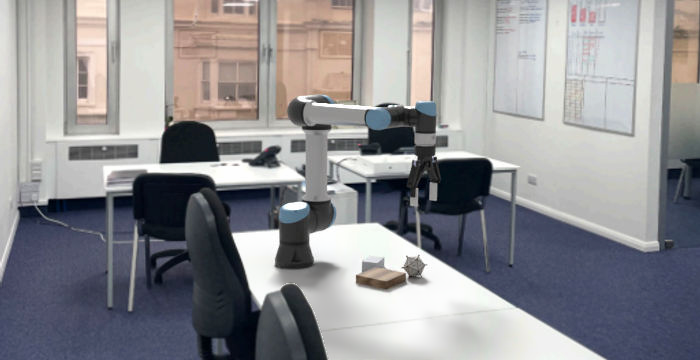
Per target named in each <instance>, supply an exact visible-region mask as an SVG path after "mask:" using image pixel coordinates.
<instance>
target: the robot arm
mask: <svg viewBox="0 0 700 360" xmlns="http://www.w3.org/2000/svg"><path fill="white" fill-rule="evenodd" d="M437 112H438V111H437V103H436V102H435V101H431V100H418V101H416V102H415V105H413V106H409V105H401V104H391V105H388V106H387V107H385V106H384V107H383V106H382V107H381V106H380V107H378V106H362V105H350V104H349V105H348V104H347V105H346V104H345V105H344V104H336V103H335V101H334V100H333V99H332V97H330V96H328V95H325V94H310V95H299V96H296V97H295V98H293V99H291V101H290V102H289V103H288V106H287V109H286V114H287V117H288V119H289V121H290V122H291V123H292V124H293V125H295V126H298V127H301V131H303V132H304V134H305V193H304V195H302V197H301V201H295V202H288V203H285V204H283V205H282V206H281V207H280V208H279V213H278V215H279V216H278V227H279V229H278V230H279V231H278V234H279V237H278V239H279V244H278V248H277V250H276V251H277V252H276V255H275V258H274V265H275V266H276V267H278V268H281V269H287V270H288V269H290V270H298V269H299V270H300V269H305V268H306V269H307V268H311V267H312V266H314V264H315V257H314V255H313V253H312V248H311V244H310V234H313V233H317V232H322V231H325V230H327V229H329V228H331V227H332V226H333V225H334V224H335V222H336V218H337V209H336V208H337V207H336V206H334V205H335V204H334V203H333V202H332V197H331V196H330V194H328V135H329V133H330V132H331V131H332V126H340V127H341V126H343V127H354V128H365V129H366V128H367V129H371V130H374V131H382V130H386V129H395V128H401V127H405V128H406V127H407V128H408V127H409V128H414V144H415V145H414V156H416V157H417V159H412V161H411V167H410V171H409V174H408V178H407V182H406V187H407V188H409V189H410V190H409V194H410V195H409V201H410V202H409V206H411V207H418V206H419V188H418V187H419V186H418V185H419V183H420V180H421V178H422V176H423V174H424V173H427V176H428V177H429V180H430V182H429V196H428V197H429V199H428V200H429V201H434V202H436V201H438V199H437V198H438V184H440V182H441V180H442V178H441V173H440V168H439V164H438V157H437V156H436V150H437V149H436V145H435V144H436V143H437V142H436V141H437V135H436V134H437V116H438V114H437Z"/></svg>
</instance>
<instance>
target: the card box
mask: <svg viewBox="0 0 700 360" xmlns="http://www.w3.org/2000/svg"><path fill="white" fill-rule="evenodd" d="M375 267H378V268H383V269H384V267H385V257H384V256H378V255H377V256H375V255H369V256H367V257H366V258H364V259H363V260H362V261H361V271H362V272H365V271H367V270H370V269H372V268H375Z"/></svg>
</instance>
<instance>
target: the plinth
mask: <svg viewBox="0 0 700 360" xmlns="http://www.w3.org/2000/svg"><path fill="white" fill-rule="evenodd" d="M406 281H407V272H402V271H396V270H392V269H387V268H384V267H383V268H378V267H375V268H372V269H370V270H367V271H362V272H360V273H358V274H356V275H355V283H356V284H359V285H363V286H368V287H371V288H378V289H382V290H386V291H387V290H389V289H391V288H394V287H396V286H399V285H400V284H403V283H404V282H406Z"/></svg>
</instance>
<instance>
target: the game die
mask: <svg viewBox="0 0 700 360" xmlns="http://www.w3.org/2000/svg"><path fill="white" fill-rule="evenodd" d="M405 256H406V260H405V263H404V264H403V266H402V267H400V269H404V271H405V273H406V275H408V279H410V278H411V277H419V276H420V278H423V276H422V273H423V271H424V269H425V266H428V264H427V263H424V261H423V260H422V259H421V257H420V254H418V255H417V256H408V255H405Z"/></svg>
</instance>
